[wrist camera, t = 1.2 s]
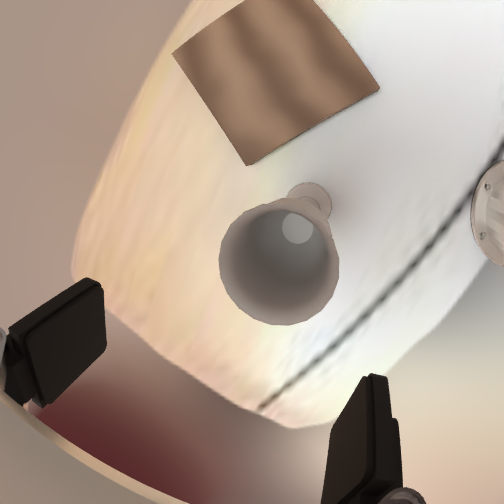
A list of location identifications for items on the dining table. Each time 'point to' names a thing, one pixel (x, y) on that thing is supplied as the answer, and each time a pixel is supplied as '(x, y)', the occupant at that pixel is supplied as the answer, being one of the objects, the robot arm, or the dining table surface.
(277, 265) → the chalice
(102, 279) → the dining table surface
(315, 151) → the dining table surface
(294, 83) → the serving board
